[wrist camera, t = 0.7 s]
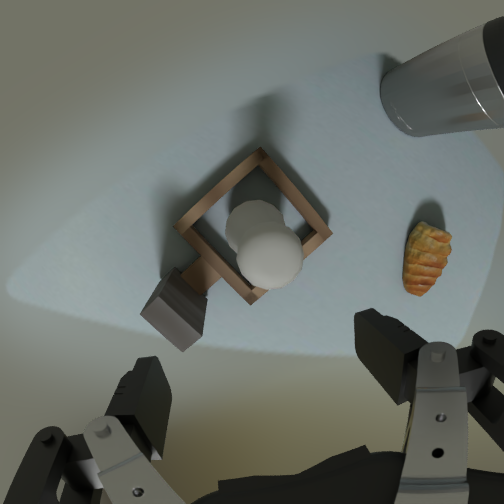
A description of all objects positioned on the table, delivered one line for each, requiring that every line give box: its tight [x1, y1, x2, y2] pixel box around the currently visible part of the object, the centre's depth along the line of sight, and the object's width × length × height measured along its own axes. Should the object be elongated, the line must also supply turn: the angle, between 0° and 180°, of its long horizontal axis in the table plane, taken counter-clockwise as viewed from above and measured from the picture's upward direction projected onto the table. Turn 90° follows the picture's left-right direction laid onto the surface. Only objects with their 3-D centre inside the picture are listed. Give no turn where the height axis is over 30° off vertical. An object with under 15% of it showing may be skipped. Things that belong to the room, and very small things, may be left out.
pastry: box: [402, 221, 452, 296], centre depth 31 cm, size 9×7×4 cm
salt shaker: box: [225, 200, 304, 290], centre depth 24 cm, size 6×6×13 cm
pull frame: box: [140, 147, 333, 352], centre depth 26 cm, size 17×11×8 cm, turn 132°
